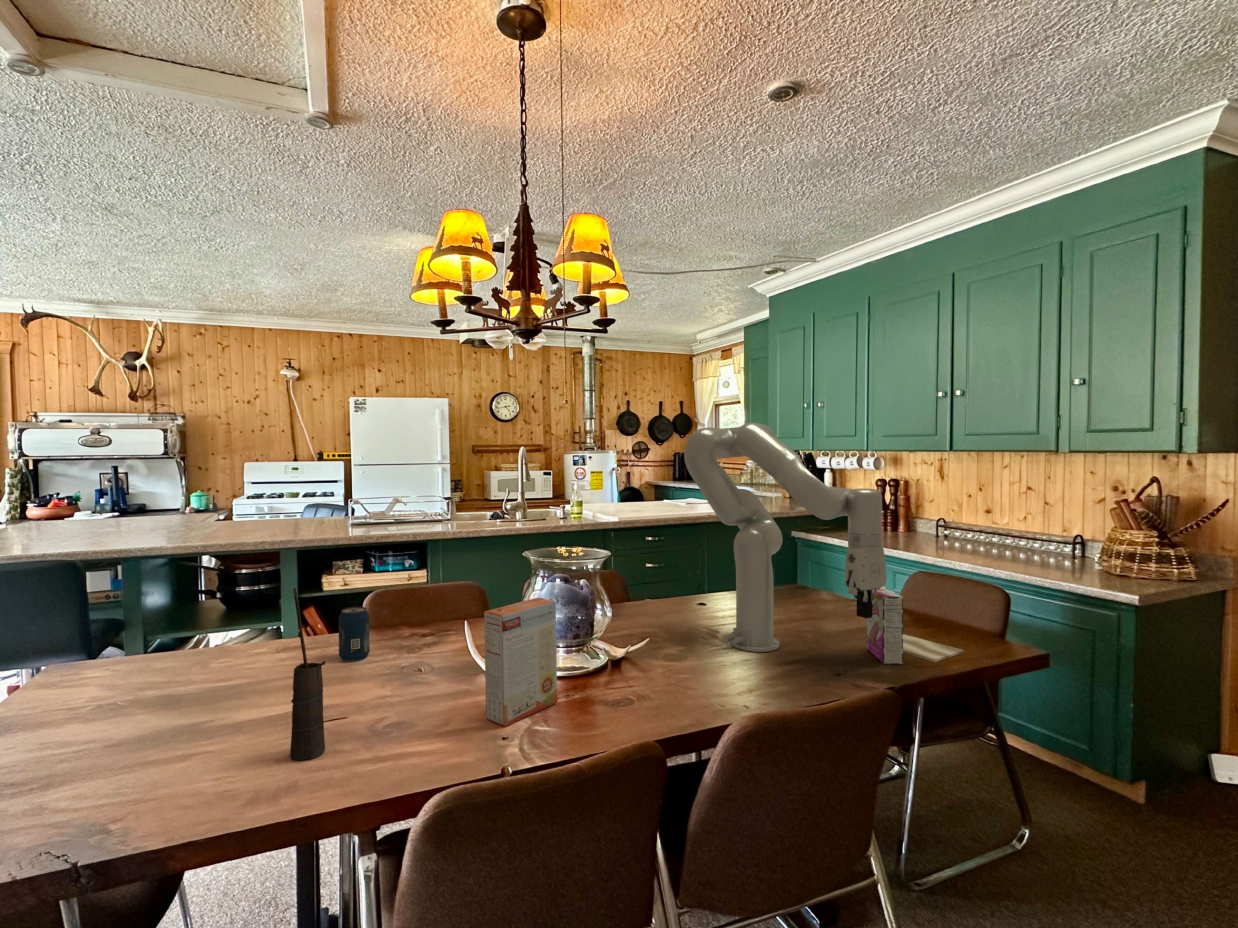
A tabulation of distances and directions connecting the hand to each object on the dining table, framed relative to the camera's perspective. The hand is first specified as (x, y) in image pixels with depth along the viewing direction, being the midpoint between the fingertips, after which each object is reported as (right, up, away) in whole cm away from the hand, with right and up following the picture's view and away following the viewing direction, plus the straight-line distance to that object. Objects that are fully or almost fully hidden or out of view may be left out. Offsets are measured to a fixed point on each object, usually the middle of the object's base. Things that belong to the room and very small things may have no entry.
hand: (864, 616), depth 147 cm
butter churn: (-110, -12, -43) cm, 119 cm away
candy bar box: (+7, -11, +5) cm, 14 cm away
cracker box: (-78, -12, -27) cm, 83 cm away
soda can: (-124, -11, +4) cm, 124 cm away
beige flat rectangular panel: (+18, -11, +12) cm, 24 cm away
